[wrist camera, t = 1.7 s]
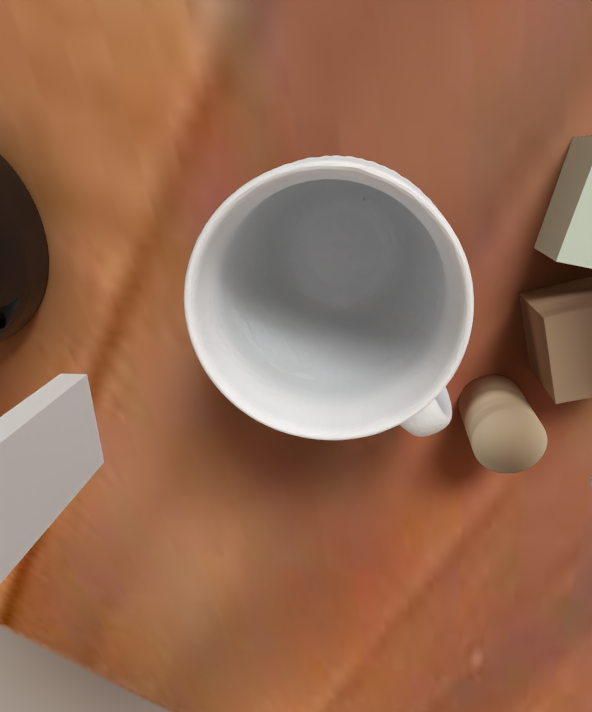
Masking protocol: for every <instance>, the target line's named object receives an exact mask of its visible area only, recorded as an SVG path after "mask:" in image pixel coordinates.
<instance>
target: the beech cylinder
mask: <svg viewBox="0 0 592 712" xmlns="http://www.w3.org/2000/svg"><path fill="white" fill-rule="evenodd" d="M458 408H459V412H460V415H461V418H462V421H463V424H464V427H465V429H466V432H467V435H468V438H469V441H470V444H471V447H472V450H473V453H474V455H475V457H476V459H477V460H478V461H479V462H480V464H482V465H483V466H484V467H486V468H487V469H489V470H491V471H494V472H498V473H516V472H520V471H523V470H526V469H528V468H530V467H531V466H533V465H534V464H535V463H537V462H538V461H539V460H540V458H541V457H542V456H543V454H544V452H545V450H546V446H547V435H546V431H545V429H544V427H543V426H542V424H541V422H540V421H539V419H538V418H537V416H536V414H535V413H534V411H533V410H532V408H531V406H530V405H529V403H528V402H527V400H526V398H525V397H524V395H523V394H522V392H521V391H520V389H519V387H518V386H517V385H516V384H515V383H514V382H513V381H512V380H510V379H508V378H506V377H503V376H500V375H485V376H481V377H479V378H476V379H474V380H473V381H471V382H470V383H469V384H467V385H466V386H465V388H464V389H463V390H462V392H461V394H460V397H459V401H458Z"/></svg>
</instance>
